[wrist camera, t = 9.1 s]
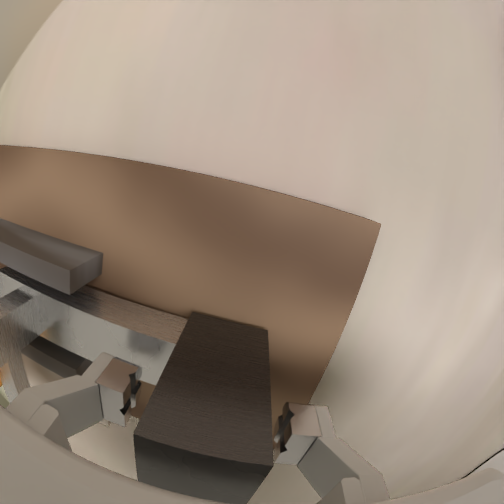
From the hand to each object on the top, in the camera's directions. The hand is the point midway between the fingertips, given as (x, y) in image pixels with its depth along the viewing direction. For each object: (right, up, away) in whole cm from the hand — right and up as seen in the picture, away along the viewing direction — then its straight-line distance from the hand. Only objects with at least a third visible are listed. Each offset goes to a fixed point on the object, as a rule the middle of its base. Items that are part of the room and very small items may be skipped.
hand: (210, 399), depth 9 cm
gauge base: (-7, +3, +4) cm, 8 cm away
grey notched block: (-5, 0, +3) cm, 6 cm away
